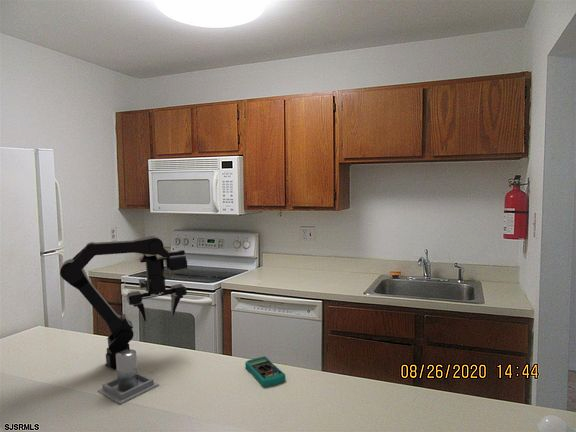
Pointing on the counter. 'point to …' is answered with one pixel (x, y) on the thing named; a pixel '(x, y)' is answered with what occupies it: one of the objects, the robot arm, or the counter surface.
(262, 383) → the digital multimeter
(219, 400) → the counter surface
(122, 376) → the metal cylinder
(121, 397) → the holder
